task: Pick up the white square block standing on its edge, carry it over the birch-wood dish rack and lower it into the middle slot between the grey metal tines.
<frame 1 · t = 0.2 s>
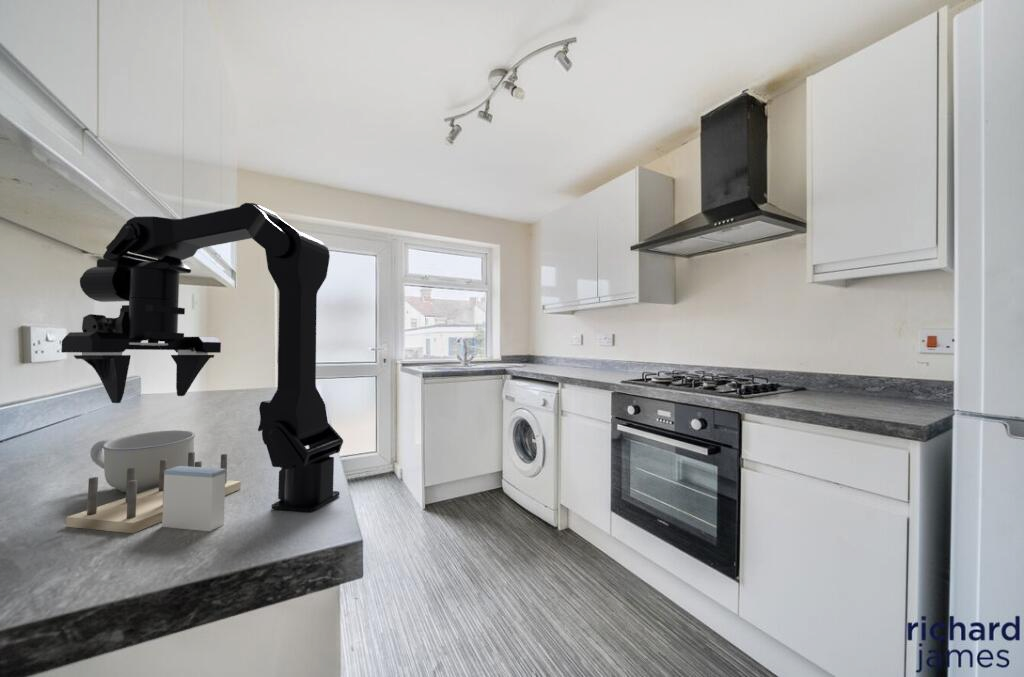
hand: (151, 399, 60), 14 cm above the worktop, fingers open, 9 cm apart
white square block: (193, 525, 48), on the worktop
teacup: (140, 487, 61), on the worktop
dish rack: (164, 505, 54), on the worktop
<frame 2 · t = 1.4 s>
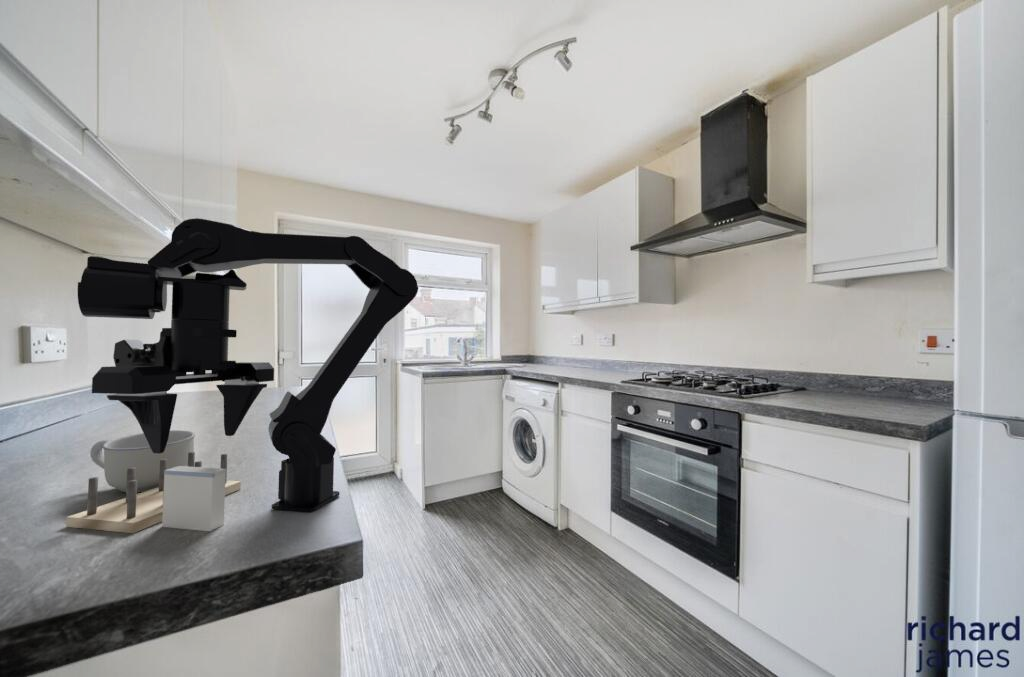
hand: (197, 443, 48), 10 cm above the worktop, fingers open, 9 cm apart
nothing on the worktop moved.
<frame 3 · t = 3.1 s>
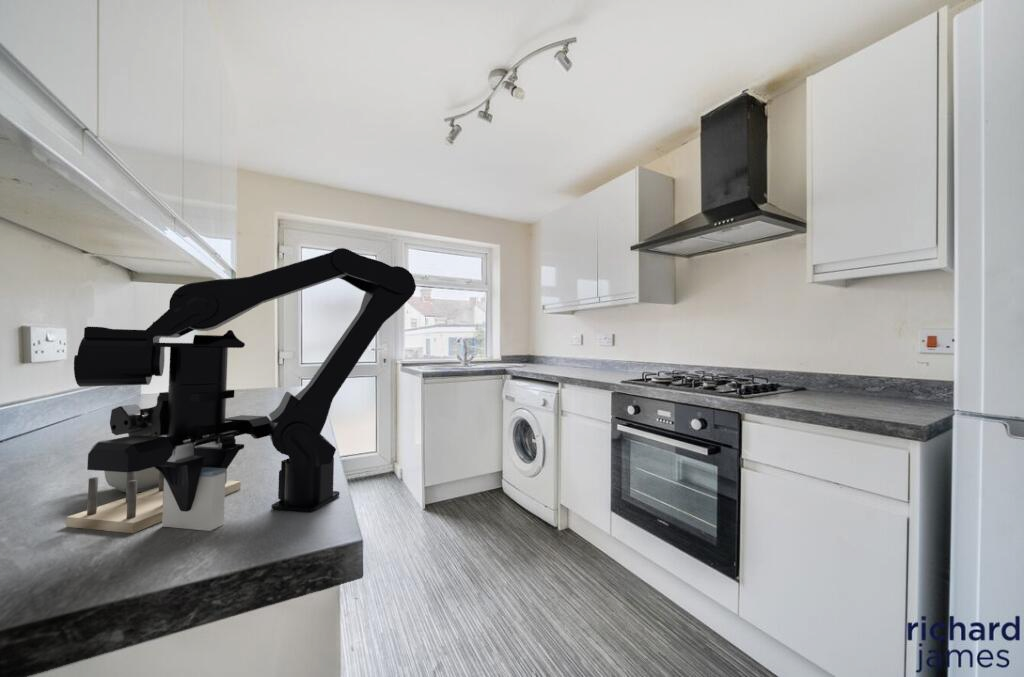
hand: (193, 507, 48), 2 cm above the worktop, fingers closed on white square block, 2 cm apart
white square block: (193, 525, 48), on the worktop, touching gripper
everything else where it was.
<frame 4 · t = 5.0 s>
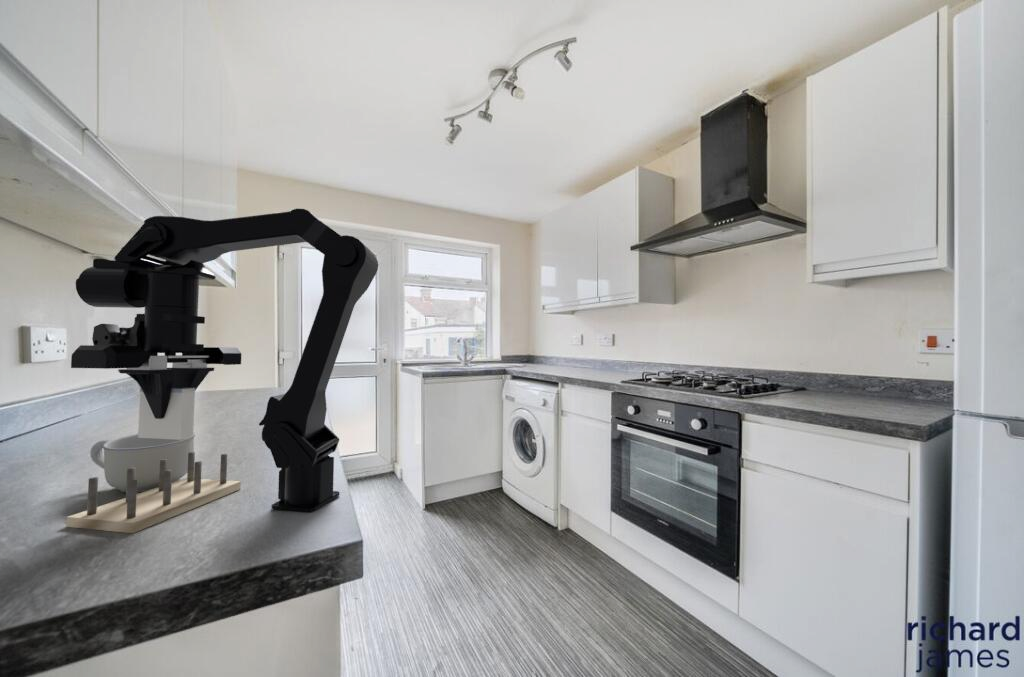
hand: (167, 417, 54), 12 cm above the worktop, fingers closed on white square block
white square block: (165, 437, 54), point 10 cm above the worktop, touching gripper
everything else where it was.
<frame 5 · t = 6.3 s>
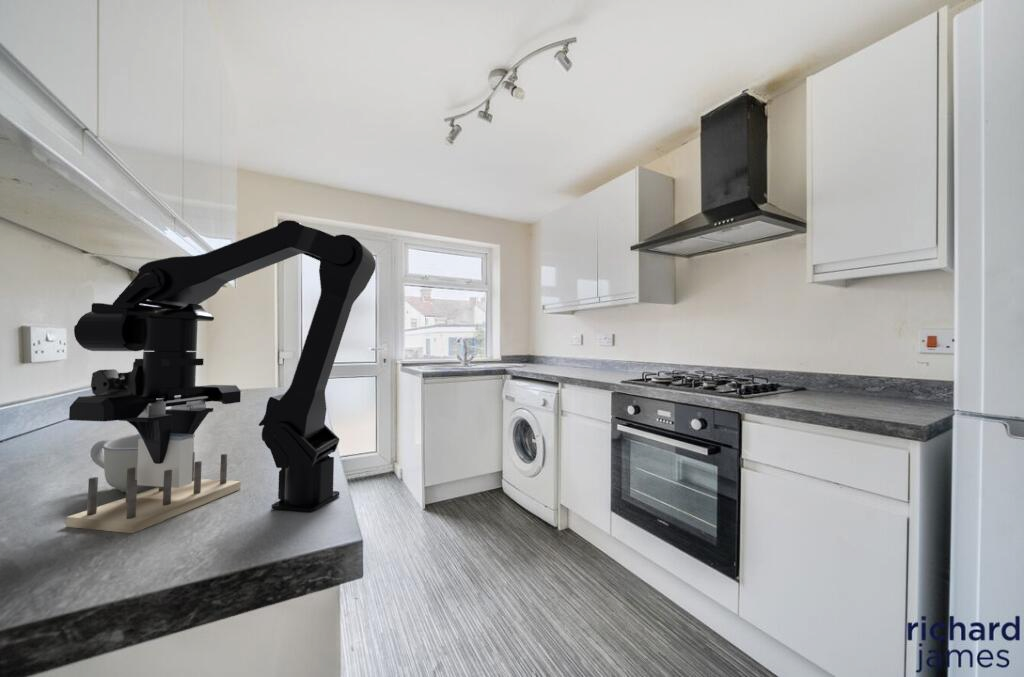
hand: (166, 461, 54), 6 cm above the worktop, fingers closed on white square block, 2 cm apart
white square block: (164, 484, 54), point 3 cm above the worktop, touching gripper
everything else where it was.
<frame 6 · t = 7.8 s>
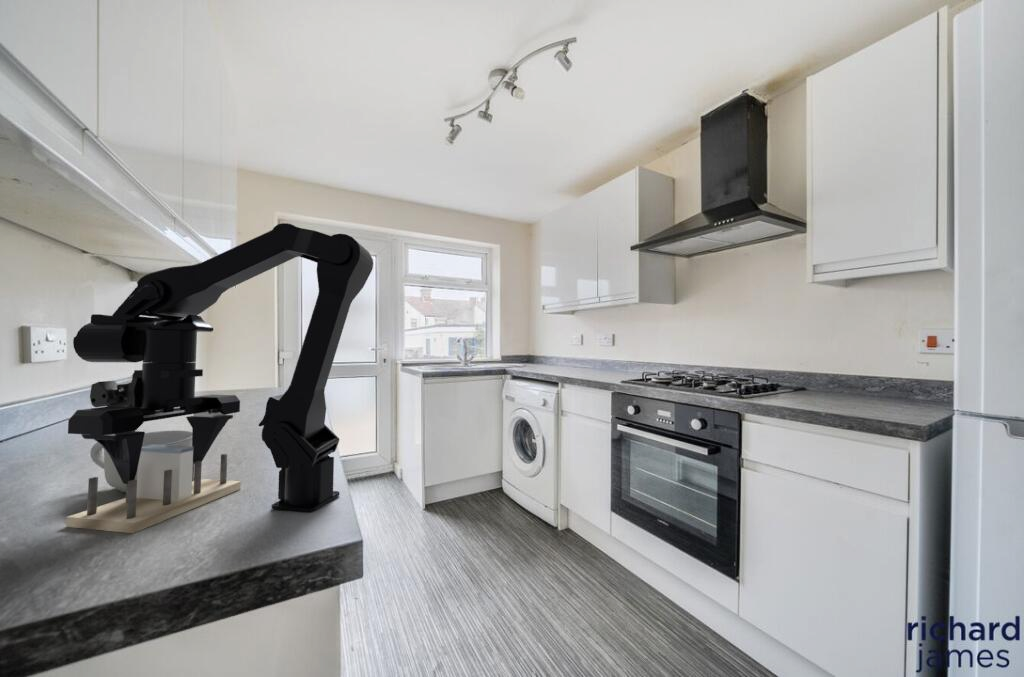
hand: (165, 472, 54), 5 cm above the worktop, fingers open, 9 cm apart
white square block: (164, 496, 54), point 1 cm above the worktop, touching dish rack
everything else where it was.
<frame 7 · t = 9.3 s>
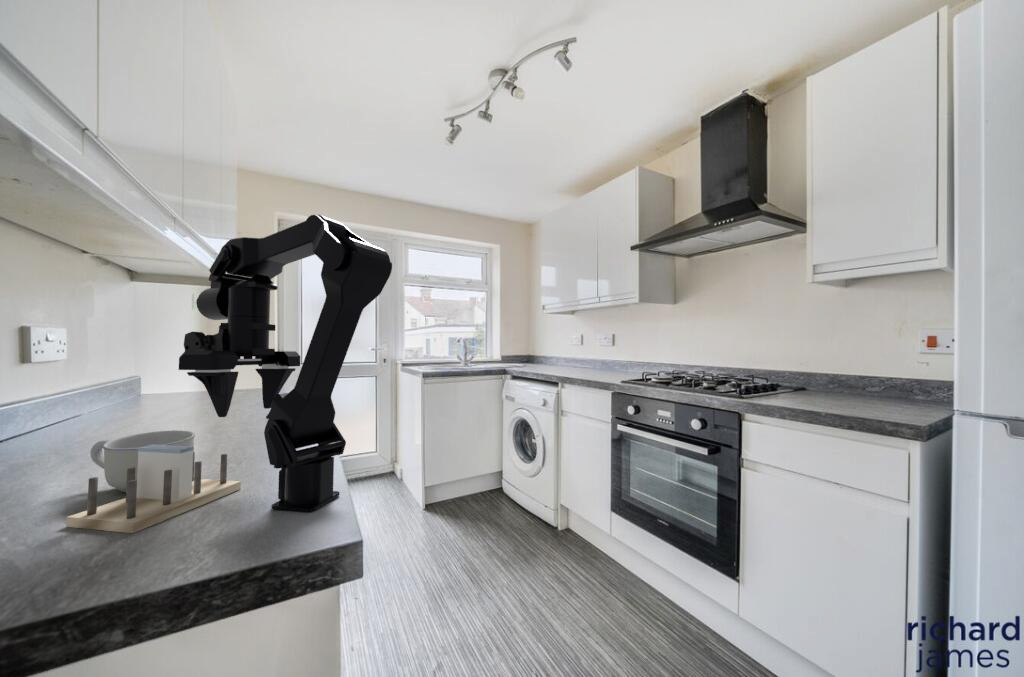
hand: (246, 412, 62), 12 cm above the worktop, fingers open, 9 cm apart
nothing on the worktop moved.
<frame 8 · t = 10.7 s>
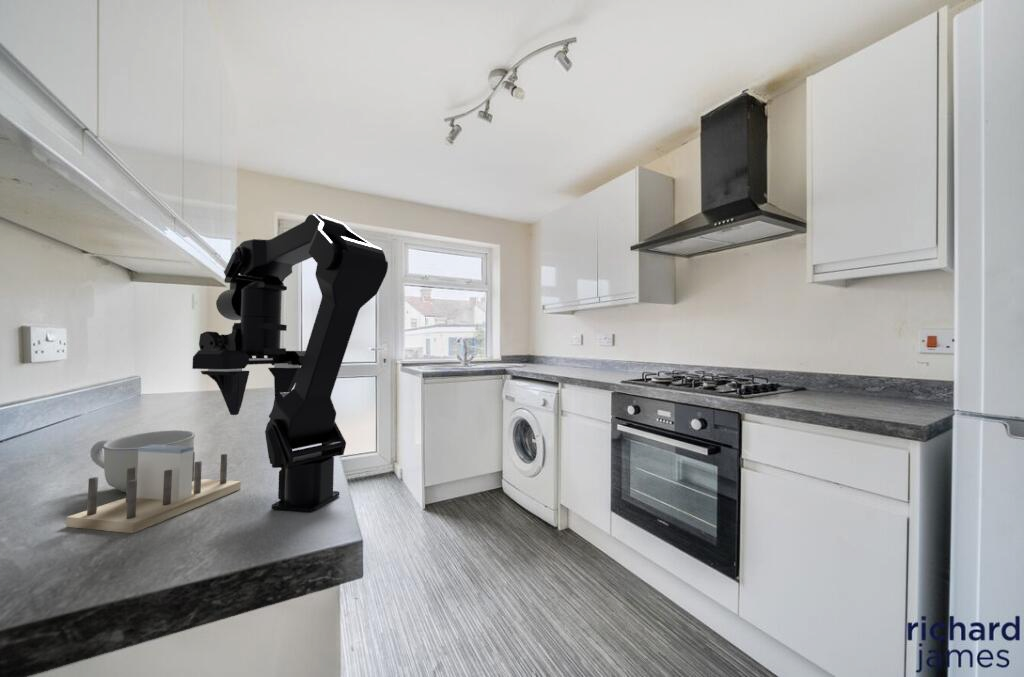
hand: (258, 410, 64), 12 cm above the worktop, fingers open, 9 cm apart
nothing on the worktop moved.
at the end: white square block 0.1 cm off-centre on the dish rack, point 1.2 cm above the dish rack's base; white square block tilted 0°; the gripper is holding nothing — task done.
